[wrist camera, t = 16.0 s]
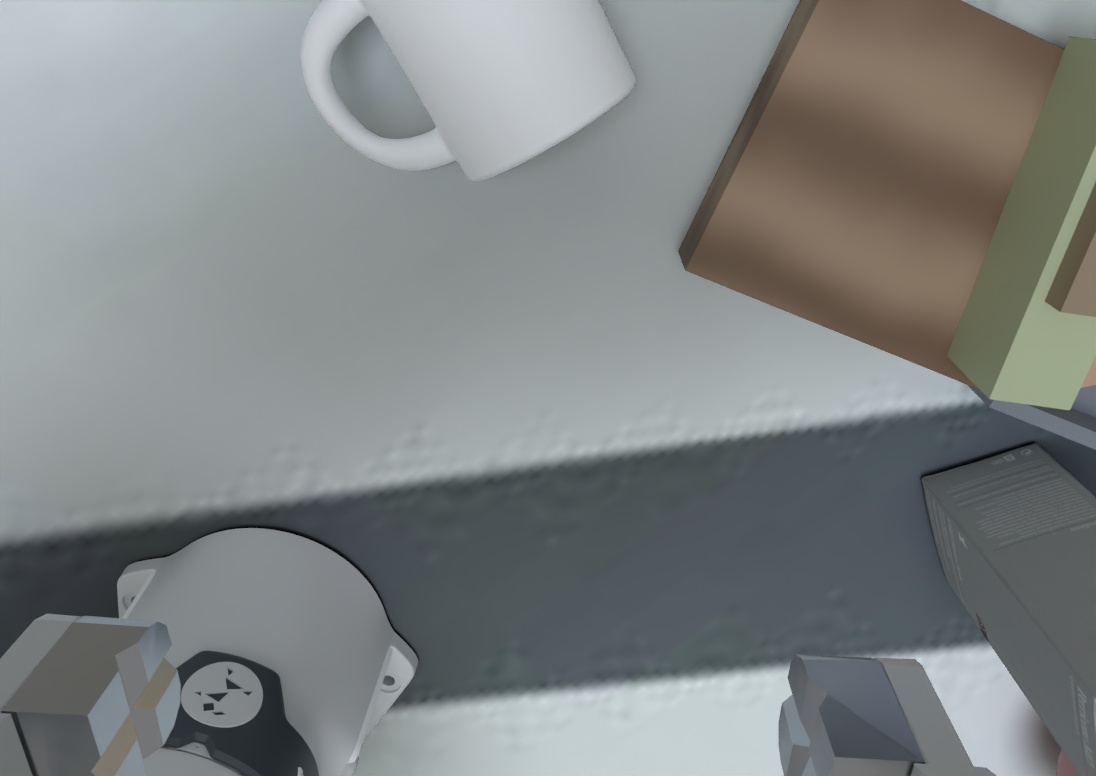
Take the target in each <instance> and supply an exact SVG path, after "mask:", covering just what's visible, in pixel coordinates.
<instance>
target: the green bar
mask: <svg viewBox="0 0 1096 776" xmlns="http://www.w3.org/2000/svg"><path fill="white" fill-rule="evenodd" d="M1095 356H1096V39H1088V38H1078V37H1069V39H1068V42H1067V44H1066V47H1065V49H1064V52H1063V55H1062V57H1061V60H1060V62H1059V65H1058V68H1057V70H1056V73H1055V75H1054V78H1053V81H1052V83H1051V86H1050V88H1049V91H1048V94H1047V96H1046V99H1045V101H1044V104H1043V107H1042V109H1041V112H1040V114H1039V117H1038V120H1037V122H1036V125H1035V127H1034V130H1033V133H1032V135H1031V138H1030V141H1029V143H1028V146H1027V148H1026V151H1025V154H1024V156H1023V159H1022V161H1021V164H1020V167H1019V169H1018V172H1017V174H1016V177H1015V180H1014V182H1013V185H1012V187H1011V190H1010V193H1009V195H1008V198H1007V200H1006V203H1005V206H1004V208H1003V211H1002V213H1001V216H1000V219H999V221H998V224H997V226H996V229H995V232H994V234H993V237H992V239H991V242H990V245H989V247H988V250H987V253H986V255H985V258H984V260H983V263H982V266H981V268H980V271H979V273H978V276H977V279H976V281H975V284H974V286H973V289H972V292H971V294H970V297H969V299H968V302H967V305H966V307H965V310H964V312H963V315H962V318H961V320H960V323H959V325H958V328H957V331H956V333H955V336H954V338H953V341H952V344H951V346H950V349H949V351H948V354H947V357H948V358H949V359H950V360H951V361H952V362H953V363H954V364H955V365H956V366H957V367H958V368H959V369H960V370H961V371H962V372H963V373H964V374H965V375H966V376H967V377H968V378H969V379H970V380H971V381H972V382H973V383H974V384H975V385H976V386H977V387H978V388H979V389H980V390H981V391H982V392H983V393H984V394H985V395H986V396H987V397H988V398H989V399H992V400H999V401H1006V402H1013V403H1021V404H1028V405H1035V406H1042V407H1049V408H1057V409H1064V410H1070V409H1071V407H1072V405H1073V403H1074V401H1075V399H1076V396H1077V394H1078V392H1079V390H1080V388H1081V386H1082V384H1083V382H1084V380H1085V377H1086V375H1087V373H1088V371H1089V369H1090V367H1091V365H1092V363H1093V360H1094V358H1095Z"/></svg>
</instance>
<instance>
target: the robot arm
mask: <svg viewBox="0 0 1096 776" xmlns="http://www.w3.org/2000/svg"><path fill="white" fill-rule="evenodd" d="M117 595H118V610H119V618H107V617H94V616H84V617H81V616H70V615H58V614H45V615H43V616H41V617H39V618H37V619H35V620H34V621H33V622H32V623H31V624H30V625H29V626H28V628H27V629H26V630H25V631H24V632H23V633H22V634H21V636H20V637H19V638H18V639H17V640H16V641H15V642H14V643H13V645H12V646H11V647H10V648H9V649H8V650H7V651H6V653H5V654H4V655H3V656H2V657H1V658H0V776H352V774H353V772H354V770H355V768H356V766H357V763H358V759H359V757H358V755H359V752H360V750H361V747H362V744H363V741H364V740H365V738H366V737H367V736H368V735H369V733H370V732H371V731H372V729H373V728H374V727H375V726H376V724H377V723H378V722H379V721H380V719H381V718H382V717H383V715H384V714H385V713H386V712H387V710H388V709H389V708H390V707H391V705H392V704H393V703H394V702H395V700H396V699H397V698H398V696H399V695H400V694H401V693H402V691H403V690H404V689H405V688H406V686H407V685H408V684H409V683H410V681H411V680H412V678H413V676H414V674H415V671H416V669H417V666H418V659H417V656H416V654H415V653H414V652H413V650H412V649H411V648H410V647H409V646H408V645H407V644H406V643H405V642H404V640H403V639H402V638H401V637H399V636H398V635H397V634H396V633H395V632H394V631H393V629H392V627H391V625H390V623H389V621H388V619H387V616H386V613H385V611H384V608H383V606H382V603H381V601H380V599H379V597H378V595H377V594H376V592H375V591H374V589H373V588H372V586H371V585H370V583H369V582H368V581H367V580H366V578H365V577H364V576H363V575H362V574H361V573H360V572H359V571H358V570H357V569H356V568H355V567H354V566H353V565H351V564H350V563H349V562H348V561H346V560H345V559H344V558H342V557H341V556H340V555H338V554H337V553H335V552H333V551H332V550H330V549H328V548H326V547H325V546H323V545H321V544H319V543H316V542H314V541H312V540H309V539H307V538H304V537H301V536H298V535H295V534H291V533H287V532H283V531H278V530H272V529H262V528H239V529H230V530H225V531H220V532H216V533H213V534H210V535H207V536H204V537H202V538H200V539H198V540H196V541H194V542H192V543H191V544H189V545H187V546H186V547H184V548H183V549H181V550H180V551H178V552H176V553H174V554H172V555H170V556H168V557H164V558H156V559H149V560H144V561H139V562H135V563H132V564H130V565H128V566H127V567H126V568H125V569H124V571H123V573H122V574H121V576H120V578H119V579H118V582H117ZM388 676H391V677H388ZM788 680H789V684H790V687H791V691H792V694H793V695H791V696H790V697H789V698H788V699H787V700H785V701H784V702H783V703H782V707H781V713H780V718H779V752H780V759H781V764H782V769H783V773H784V776H996V775H995V774H994V773H992V772H991V771H990V770H988V769H987V768H983V767H974V766H973V764H972V762H971V760H970V758H969V757H968V755H967V753H966V751H965V749H964V747H963V745H962V743H961V741H960V739H959V737H958V735H957V733H956V731H955V729H954V727H953V725H952V723H951V721H950V719H949V717H948V715H947V713H946V711H945V709H944V707H943V706H942V704H941V702H940V700H939V698H938V696H937V694H936V692H935V690H934V688H933V686H932V684H931V682H930V680H929V678H928V676H927V674H926V672H925V670H924V668H923V666H922V665H921V664H920V663H919V662H917V661H916V660H915V659H893V658H874V659H872V658H860V657H838V656H815V655H795V657H794V659H793V660H792V662H791V665H790V670H789V674H788Z"/></svg>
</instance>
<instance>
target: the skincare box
mask: <svg viewBox="0 0 1096 776" xmlns="http://www.w3.org/2000/svg"><path fill="white" fill-rule="evenodd" d="M921 480H922V483H923V488H924V493H925V499H926V504H927V509H928V513H929V518H930V523H931V527H932V531H933V535H934V539H935V543H936V547H937V551H938V554H939V558H940V561H941V564H942V567H943V571H944V574H945V577H946V580H947V582H948V584H949V585H950V586H951V588H952V589H953V591H954V592H955V594H956V595H957V597H958V598H959V600H960V601H961V602H962V604H963V605H964V607H965V608H966V610H967V611H968V613H969V614H970V615H971V617H972V618H973V620H974V621H975V623H976V624H977V626H978V627H979V629H980V630H981V632H982V633H983V635H984V636H985V638H986V639H987V640H988V642H989V643H990V645H991V646H992V647H993V649H994V650H995V652H996V653H997V655H998V656H999V658H1000V659H1001V661H1002V662H1003V664H1004V665H1005V667H1006V668H1007V670H1008V671H1009V673H1010V674H1011V675H1012V677H1013V678H1014V680H1015V681H1016V683H1017V684H1018V686H1019V687H1020V689H1021V690H1022V692H1023V693H1024V695H1025V696H1026V697H1027V699H1028V700H1029V702H1030V703H1031V705H1032V706H1033V708H1034V709H1035V711H1036V712H1037V714H1038V715H1039V717H1040V718H1041V719H1042V721H1043V722H1044V724H1045V725H1046V727H1047V728H1048V730H1049V731H1050V733H1051V734H1052V736H1053V737H1054V738H1055V740H1056V741H1057V743H1058V744H1059V746H1060V747H1061V749H1062V750H1063V752H1064V753H1065V754H1066V756H1067V757H1068V759H1069V760H1070V762H1071V763H1072V765H1073V766H1074V768H1075V769H1076V771H1077V772H1078V774H1079V775H1080V776H1096V497H1095V496H1094V495H1093V494H1091V493H1090V492H1089V491H1088V490H1087V489H1086V488H1085V487H1084V486H1083V485H1082V484H1081V483H1079V482H1078V481H1077V480H1076V479H1075V478H1074V477H1073V476H1072V475H1071V474H1070V473H1069V472H1068V471H1067V470H1065V469H1064V468H1063V467H1062V466H1061V465H1060V464H1059V463H1058V462H1057V461H1056V460H1055V459H1054V458H1053V457H1052V456H1050V455H1049V454H1048V453H1047V452H1046V451H1045V450H1044V449H1043V448H1042V447H1041V446H1040V445H1039V444H1037V443H1034V444H1031V445H1028V446H1024V447H1021V448H1017V449H1014V450H1011V451H1008V452H1005V453H1002V454H999V455H996V456H993V457H990V458H987V459H984V460H981V461H978V462H974V463H971V464H968V465H964V466H960V467H957V468H954V469H951V470H948V471H944V472H941V473H937V474H933V475H928V476H925V477H923V478H922V479H921Z"/></svg>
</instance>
